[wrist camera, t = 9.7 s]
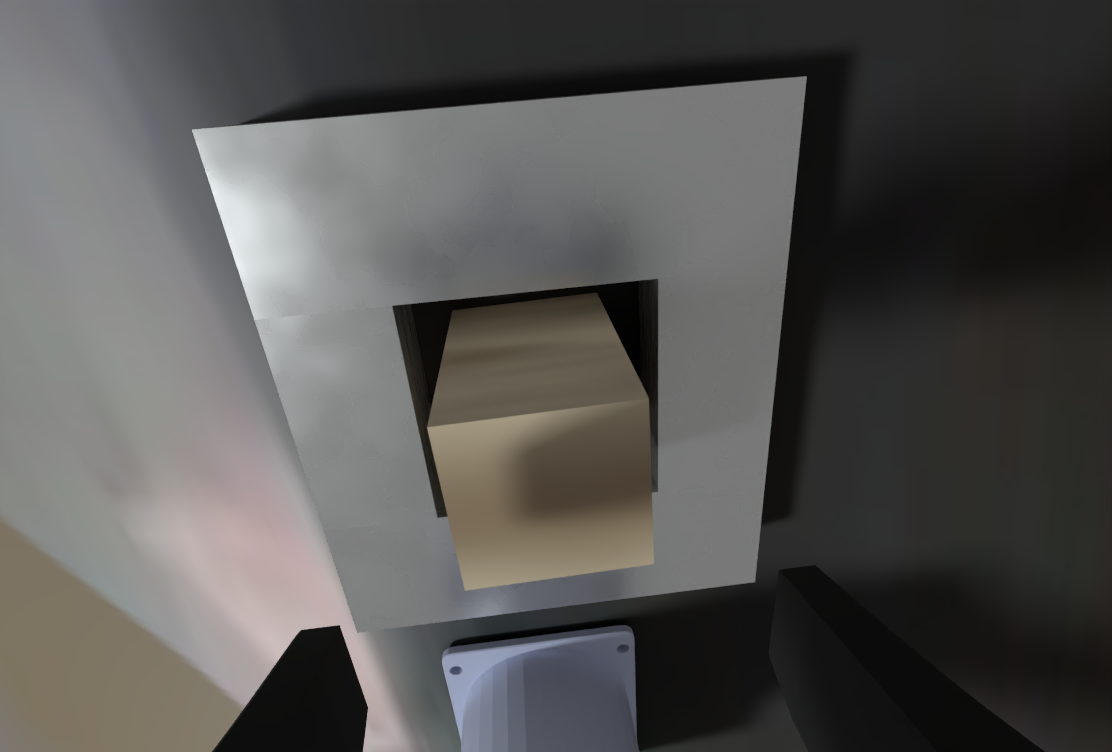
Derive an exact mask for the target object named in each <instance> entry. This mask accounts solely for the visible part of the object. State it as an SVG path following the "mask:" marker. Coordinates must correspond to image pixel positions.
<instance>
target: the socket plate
mask: <svg viewBox="0 0 1112 752" xmlns="http://www.w3.org/2000/svg"><path fill="white" fill-rule="evenodd" d="M806 80H807V76H803V77H787V78H770V79H756V80H745V81H733V82H722V83H710V84H699V85H687V86H676V87H664V88H653V89H641V90H630V91H618V92H607V93H595V94H583V95H572V96H560V97H549V98H537V99H526V100H514V101H503V102H491V103H480V104H468V105H457V106H445V107H434V108H422V109H410V110H399V111H387V112H376V113H364V114H353V115H341V116H330V117H318V118H307V119H295V120H284V121H272V122H261V123H249V124H238V125H229V126H220V127H211V128H202V129H193V130H192V131H193V134H194V137H195V140H196V144H197V147H198V150H199V153H200V156H201V159H202V162H203V165H204V168H205V171H206V174H207V177H208V180H209V183H210V186H211V189H212V192H213V195H214V198H215V201H216V204H217V207H218V210H219V213H220V216H221V219H222V223H223V226H224V229H225V232H226V235H227V238H228V241H229V244H230V247H231V250H232V253H233V256H234V259H235V262H236V265H237V268H238V271H239V274H240V277H241V280H242V283H243V286H244V289H245V292H246V295H247V298H248V302H249V305H250V308H251V311H252V314H253V317H254V320H255V323H256V326H257V329H258V332H259V335H260V338H261V341H262V344H263V347H264V350H265V353H266V356H267V359H268V362H269V365H270V368H271V371H272V374H273V378H274V381H275V384H276V387H277V390H278V393H279V396H280V399H281V402H282V405H283V408H284V411H285V414H286V417H287V420H288V423H289V426H290V429H291V432H292V435H293V438H294V441H295V444H296V447H297V450H298V453H299V457H300V460H301V463H302V466H303V469H304V472H305V475H306V478H307V481H308V484H309V487H310V490H311V493H312V496H313V499H314V502H315V505H316V508H317V511H318V514H319V517H320V520H321V523H322V526H323V529H324V532H325V536H326V539H327V542H328V545H329V548H330V551H331V554H332V557H333V560H334V563H335V566H336V569H337V572H338V575H339V578H340V581H341V584H342V587H343V590H344V593H345V596H346V599H347V602H348V605H349V608H350V611H351V615H352V618H353V621H354V624H355V627H356V630H357V633H358V632H366V631H374V630H382V629H390V628H398V627H405V626H413V625H421V624H429V623H437V622H445V621H453V620H460V619H468V618H476V617H484V616H492V615H500V614H508V613H516V612H523V611H531V610H539V609H547V608H555V607H563V606H571V605H579V604H586V603H594V602H602V601H610V600H618V599H626V598H634V597H641V596H649V595H657V594H665V593H673V592H681V591H689V590H697V589H704V588H712V587H720V586H728V585H736V584H744V583H752V582H755V576H756V567H757V557H758V547H759V537H760V528H761V518H762V508H763V498H764V489H765V479H766V469H767V459H768V450H769V440H770V430H771V421H772V411H773V401H774V391H775V382H776V372H777V362H778V352H779V343H780V333H781V323H782V313H783V304H784V294H785V284H786V275H787V265H788V255H789V245H790V236H791V226H792V216H793V206H794V197H795V187H796V177H797V168H798V158H799V148H800V138H801V129H802V119H803V109H804V99H805V90H806ZM631 281H638V292H639V361H640V381H641V383H642V386H643V388H644V390H645V392H646V394H647V396H648V398H649V419H650V451H651V483H652V515H653V547H654V564H651V565H644V566H637V567H630V568H623V569H616V570H609V571H602V572H594V573H587V574H580V575H573V576H566V577H559V578H552V579H545V580H538V581H531V582H524V583H516V584H509V585H502V586H495V587H488V588H481V589H474V590H467V591H465V589H464V584H463V580H462V576H461V571H460V567H459V563H458V559H457V554H456V550H455V546H454V541H453V537H452V533H451V528H450V524H449V520H448V516H447V511H446V507H445V503H444V498H443V494H442V490H441V485H440V481H439V477H438V473H437V468H436V464H435V460H434V455H433V451H432V447H431V442H430V438H429V434H428V430H427V425H428V421H429V416H430V411H431V402H430V397H429V392H428V387H427V382H426V377H425V372H424V367H423V362H422V357H421V352H420V347H419V342H418V337H417V332H416V327H415V321H414V316H413V311H412V306H411V304H415V303H424V302H434V301H444V300H454V299H464V298H474V297H483V296H493V295H503V294H513V293H523V292H532V291H542V290H552V289H562V288H572V287H581V286H591V285H601V284H611V283H621V282H631Z"/></svg>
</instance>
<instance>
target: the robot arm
mask: <svg viewBox="0 0 1112 752" xmlns="http://www.w3.org/2000/svg"><path fill="white" fill-rule="evenodd" d="M768 655H769V657H770V660H771V663H772V666H773V668H774V671H775V674H776V677H777V679H778V682H779V685H780V688H781V690H782V693H783V696H784V698H785V701H786V703H787V706H788V708H789V711H790V714H791V716H792V719H793V721H794V723H795V725H796V727H797V729H798V731H799V733H800V735H801V737H802V739H803V741H804V743H805V745H806V747H807V749H808V751H809V752H1044V751H1043V750H1042V749H1040V748H1039V747H1038V746H1036V745H1035V744H1033V743H1032V742H1031V741H1029V740H1028V739H1027V738H1025V737H1024V736H1023V735H1021V734H1020V733H1019V732H1017V731H1016V730H1015V729H1013V728H1012V727H1011V726H1009V725H1008V724H1007V723H1005V722H1004V721H1003V720H1002V719H1000V718H999V717H998V716H996V715H995V714H994V713H992V712H991V711H990V710H988V709H987V708H986V707H984V706H983V705H982V704H981V703H979V702H978V701H977V700H975V699H974V698H973V697H972V696H970V695H969V694H968V693H967V692H965V691H964V690H963V689H961V688H960V687H959V686H958V685H956V684H955V683H954V682H953V681H952V680H950V679H949V678H948V677H947V676H945V675H944V674H943V673H942V672H940V671H939V670H938V669H937V668H936V667H934V666H933V665H932V664H931V663H929V662H928V661H927V660H926V659H924V658H923V657H922V656H921V655H920V654H918V653H917V652H916V651H915V650H913V649H912V648H911V647H910V646H909V645H908V644H906V643H905V642H904V641H903V640H902V639H900V638H899V637H898V636H897V635H896V634H894V633H893V632H892V631H891V630H890V629H889V628H887V627H886V626H885V625H884V624H883V623H882V622H880V621H879V620H878V619H877V618H876V617H875V616H873V615H872V614H871V613H870V612H869V611H868V610H866V609H865V608H864V607H863V606H862V605H861V604H859V603H858V602H857V601H856V600H855V599H854V598H853V597H851V596H850V595H849V594H848V593H847V592H846V591H844V590H843V589H842V588H841V587H840V586H839V585H837V584H836V583H835V582H834V581H833V580H832V579H831V578H829V577H828V576H827V575H826V574H825V573H823V572H822V571H821V570H820V569H819V568H818V567H816V566H815V565H814V566H806V567H798V568H790V569H782V570H779V575H778V583H777V590H776V598H775V606H774V614H773V622H772V630H771V638H770V646H769V654H768ZM442 665H443V669H444V673H445V677H446V681H447V685H448V689H449V693H450V697H451V701H452V706H453V710H454V714H455V718H456V722H457V726H458V730H459V734H460V738H461V742H462V743H461V752H639V748H638V743H637V724H636V683H635V642H634V634H633V631H632V629H631V628H630V627H629V626H626V625H617V626H610V627H602V628H594V629H586V630H579V631H571V632H563V633H555V634H548V635H540V636H532V637H524V638H517V639H509V640H501V641H493V642H486V643H478V644H470V645H462V646H455V647H450V648H448V649H446V650H445V651H444V653H443V658H442ZM367 711H368V706H367V704H366V701H365V698H364V695H363V692H362V689H361V686H360V683H359V680H358V678H357V675H356V672H355V669H354V666H353V663H352V660H351V657H350V654H349V651H348V649H347V646H346V643H345V640H344V637H343V634H342V631H341V628H340V625H338V626H331V627H323V628H315V629H307V630H301V631H300V632H299V633H298V634H297V635H296V637H295V638H294V639H293V641H292V642H291V644H290V645H289V646H288V648H287V649H286V651H285V652H284V653H283V655H282V656H281V658H280V659H279V660H278V662H277V663H276V665H275V666H274V667H273V669H272V670H271V672H270V673H269V675H268V676H267V677H266V679H265V680H264V682H263V683H262V684H261V686H260V687H259V689H258V690H257V691H256V693H255V694H254V696H253V697H252V698H251V700H250V701H249V702H248V704H247V705H246V707H245V708H244V709H243V711H242V712H241V714H240V715H239V716H238V718H237V719H236V720H235V722H234V723H233V725H232V726H231V727H230V729H229V730H228V731H227V733H226V734H225V735H224V737H223V738H222V739H221V741H220V742H219V743H218V745H217V746H216V747H215V749H214V750H213V751H212V752H363V745H364V737H365V728H366V720H367Z"/></svg>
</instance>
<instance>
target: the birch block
mask: <svg viewBox="0 0 1112 752" xmlns="http://www.w3.org/2000/svg"><path fill="white" fill-rule="evenodd" d="M427 430H428V434H429V438H430V442H431V447H432V451H433V455H434V460H435V464H436V468H437V473H438V477H439V481H440V485H441V490H442V494H443V498H444V503H445V507H446V511H447V516H448V520H449V524H450V528H451V533H452V537H453V541H454V546H455V550H456V554H457V559H458V563H459V567H460V571H461V576H462V580H463V584H464V589H465V591H467V590H474V589H481V588H488V587H495V586H502V585H509V584H516V583H524V582H531V581H538V580H545V579H552V578H559V577H566V576H573V575H580V574H587V573H594V572H602V571H609V570H616V569H623V568H630V567H637V566H644V565H651V564H654V547H653V515H652V483H651V451H650V419H649V398H648V396H647V394H646V392H645V390H644V388H643V386H642V383H641V381H640V379H639V377H638V375H637V373H636V371H635V369H634V367H633V365H632V363H631V361H630V359H629V357H628V355H627V353H626V351H625V349H624V347H623V345H622V343H621V341H620V339H619V337H618V335H617V333H616V331H615V329H614V327H613V325H612V323H611V321H610V318H609V316H608V314H607V312H606V310H605V308H604V306H603V304H602V302H601V300H600V298H599V296H598V294H597V293H589V294H581V295H573V296H565V297H557V298H549V299H541V300H533V301H525V302H516V303H508V304H500V305H492V306H484V307H476V308H468V309H460V310H452V315H451V319H450V324H449V328H448V333H447V338H446V342H445V347H444V352H443V356H442V361H441V365H440V370H439V375H438V379H437V384H436V388H435V393H434V398H433V402H432V407H431V411H430V416H429V421H428V425H427Z"/></svg>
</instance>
